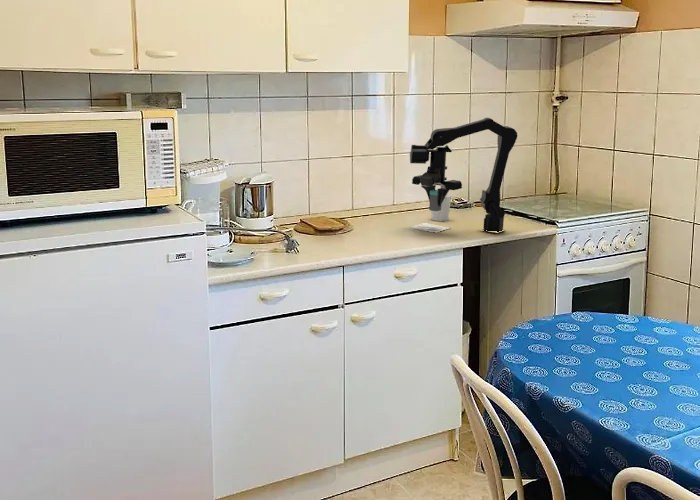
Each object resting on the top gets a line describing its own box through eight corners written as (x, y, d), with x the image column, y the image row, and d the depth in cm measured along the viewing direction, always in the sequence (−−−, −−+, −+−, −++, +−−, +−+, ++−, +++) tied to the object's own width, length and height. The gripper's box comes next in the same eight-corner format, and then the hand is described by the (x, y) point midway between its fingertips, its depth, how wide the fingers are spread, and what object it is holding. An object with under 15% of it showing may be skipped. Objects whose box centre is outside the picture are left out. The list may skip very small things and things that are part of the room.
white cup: (450, 222, 305) (452, 197, 302) (430, 221, 305) (432, 196, 302) (448, 217, 312) (450, 193, 310) (429, 217, 312) (430, 192, 310)
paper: (450, 228, 293) (450, 227, 293) (436, 233, 285) (436, 232, 285) (424, 223, 300) (424, 222, 300) (409, 227, 293) (409, 226, 293)
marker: (441, 210, 288) (442, 190, 286) (436, 211, 285) (437, 191, 283) (433, 208, 290) (434, 189, 288) (428, 210, 287) (429, 190, 285)
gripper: (404, 163, 283) (402, 204, 287) (447, 169, 271) (445, 212, 275) (421, 160, 291) (419, 200, 295) (463, 165, 280) (461, 207, 284)
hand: (435, 205), depth 287 cm, fingers closed on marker, 3 cm apart
